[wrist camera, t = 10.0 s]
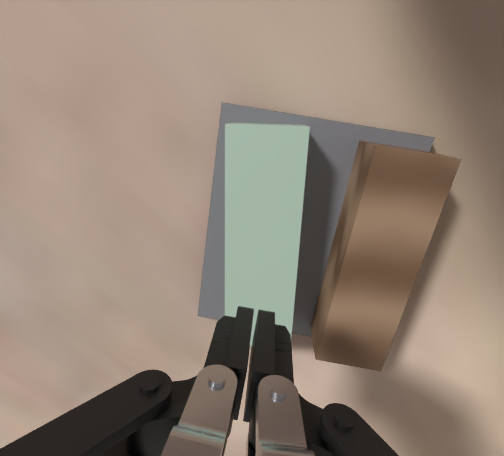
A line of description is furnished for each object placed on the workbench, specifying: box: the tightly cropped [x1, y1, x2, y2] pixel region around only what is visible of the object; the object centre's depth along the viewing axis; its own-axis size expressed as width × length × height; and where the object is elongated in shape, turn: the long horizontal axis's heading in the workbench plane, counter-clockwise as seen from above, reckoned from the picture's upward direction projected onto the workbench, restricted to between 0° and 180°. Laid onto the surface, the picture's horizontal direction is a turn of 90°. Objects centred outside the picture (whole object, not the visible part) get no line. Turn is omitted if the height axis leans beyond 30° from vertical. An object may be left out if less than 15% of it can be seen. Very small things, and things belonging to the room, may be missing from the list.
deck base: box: [198, 103, 435, 336], centre depth 25 cm, size 18×15×1 cm
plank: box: [225, 123, 310, 346], centre depth 23 cm, size 16×5×4 cm, turn 178°
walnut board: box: [310, 140, 461, 371], centre depth 23 cm, size 16×5×4 cm, turn 171°
